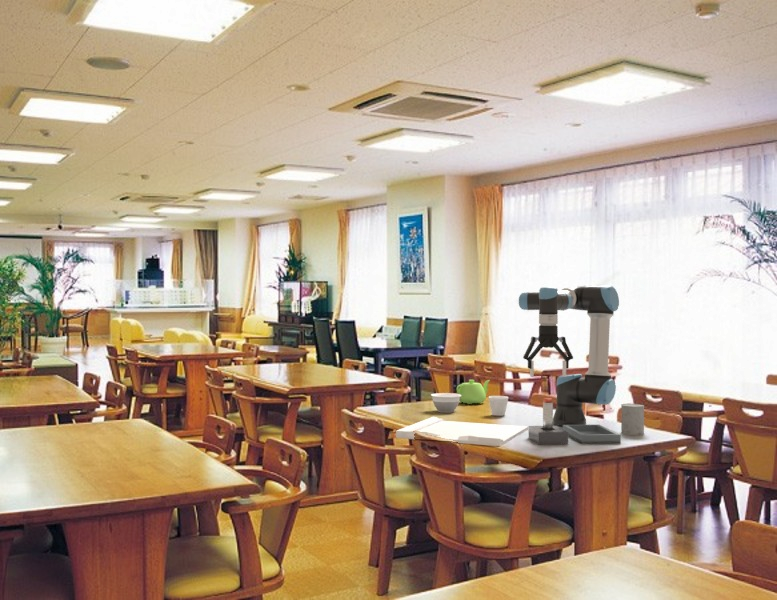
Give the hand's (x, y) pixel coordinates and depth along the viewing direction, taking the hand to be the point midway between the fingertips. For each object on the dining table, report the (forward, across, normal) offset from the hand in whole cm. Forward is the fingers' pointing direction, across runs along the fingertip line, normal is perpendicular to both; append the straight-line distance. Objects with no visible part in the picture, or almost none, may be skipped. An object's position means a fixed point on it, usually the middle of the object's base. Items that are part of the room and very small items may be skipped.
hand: (548, 376), depth 326 cm
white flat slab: (+27, -31, +21) cm, 46 cm away
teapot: (+26, -9, +119) cm, 122 cm away
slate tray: (+26, +20, +6) cm, 34 cm away
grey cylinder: (+26, +42, +16) cm, 52 cm away
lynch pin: (+26, 0, 0) cm, 26 cm away
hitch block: (+26, 0, 0) cm, 26 cm away
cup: (+26, -5, +72) cm, 77 cm away
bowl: (+26, -29, +88) cm, 96 cm away
